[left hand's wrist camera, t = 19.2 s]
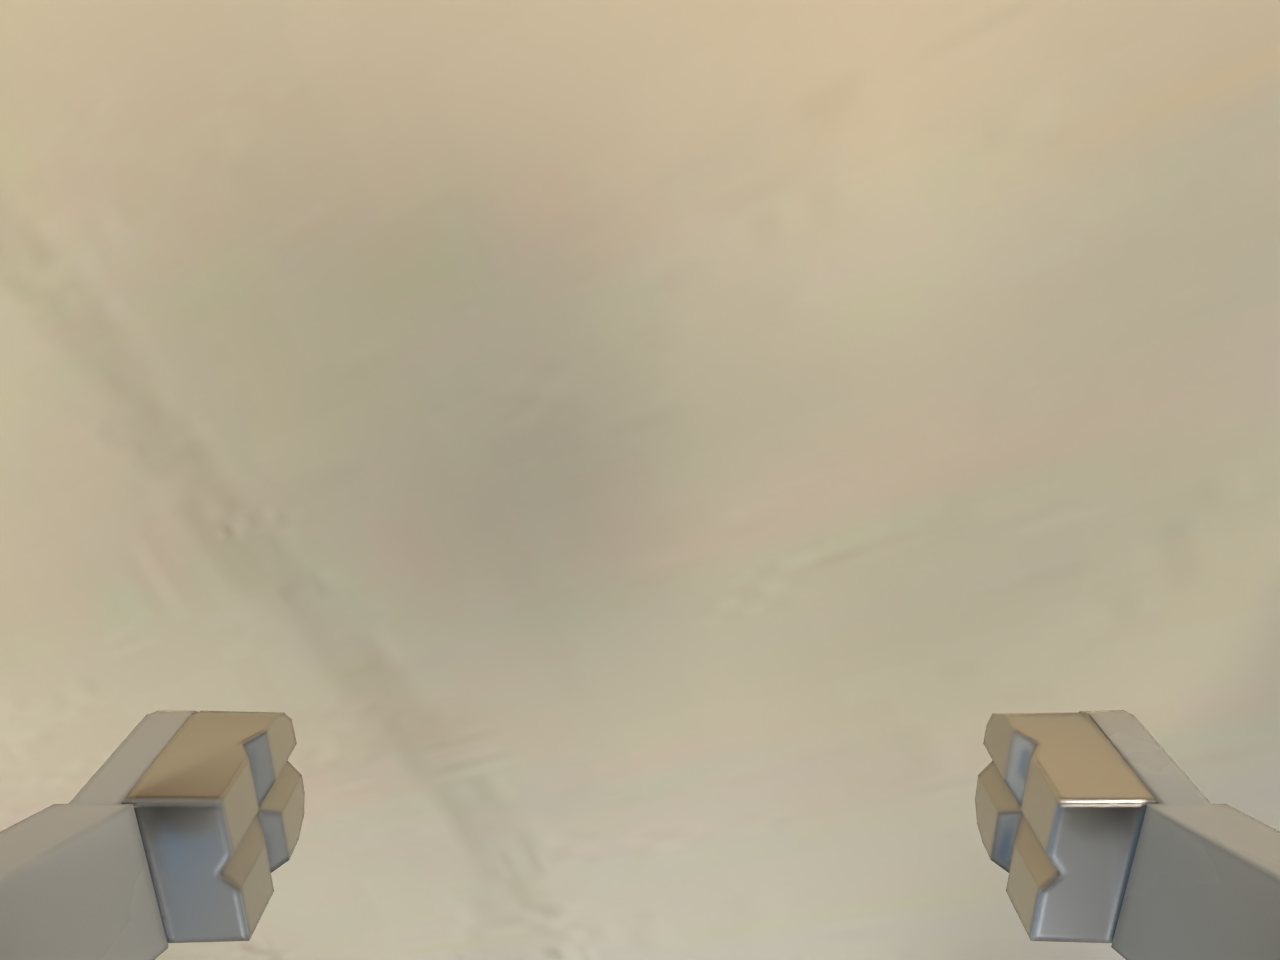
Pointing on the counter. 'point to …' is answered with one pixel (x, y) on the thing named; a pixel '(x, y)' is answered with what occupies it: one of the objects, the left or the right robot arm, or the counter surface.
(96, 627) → the counter surface
